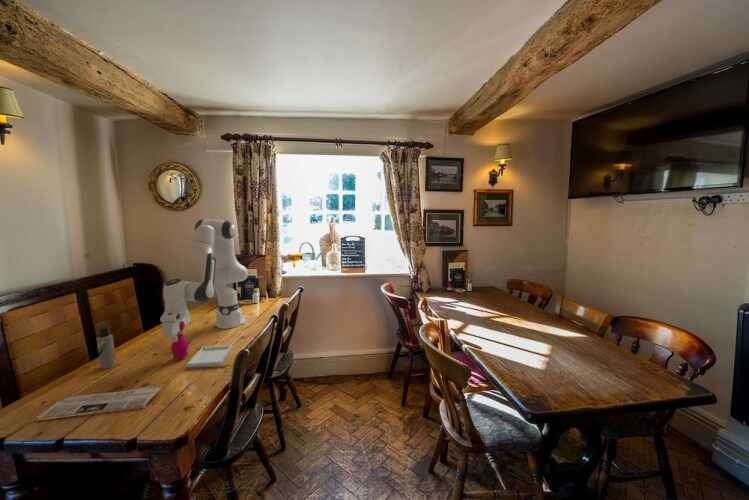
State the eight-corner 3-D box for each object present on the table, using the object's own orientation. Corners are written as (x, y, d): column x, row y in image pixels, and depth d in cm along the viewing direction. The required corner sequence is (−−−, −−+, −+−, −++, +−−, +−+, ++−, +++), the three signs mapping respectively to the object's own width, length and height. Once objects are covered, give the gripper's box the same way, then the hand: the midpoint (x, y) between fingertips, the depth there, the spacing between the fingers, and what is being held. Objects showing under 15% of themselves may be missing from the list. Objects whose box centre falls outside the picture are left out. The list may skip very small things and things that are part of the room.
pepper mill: (180, 360, 144) (176, 321, 141) (168, 358, 145) (164, 320, 143) (192, 353, 151) (189, 316, 148) (180, 351, 152) (177, 314, 150)
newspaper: (36, 423, 104) (35, 414, 103) (65, 401, 116) (64, 392, 115) (150, 408, 111) (149, 400, 111) (165, 389, 123) (165, 381, 123)
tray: (202, 351, 156) (202, 346, 156) (232, 349, 158) (232, 344, 158) (187, 369, 138) (186, 364, 138) (220, 366, 141) (220, 361, 141)
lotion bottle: (115, 362, 145) (111, 323, 142) (116, 366, 141) (111, 326, 138) (100, 366, 141) (94, 326, 138) (100, 370, 137) (95, 330, 134)
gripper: (179, 305, 154) (182, 330, 157) (157, 320, 135) (160, 348, 137) (192, 304, 156) (194, 329, 158) (173, 319, 136) (175, 347, 138)
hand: (178, 338), depth 147 cm, fingers closed on pepper mill, 5 cm apart
